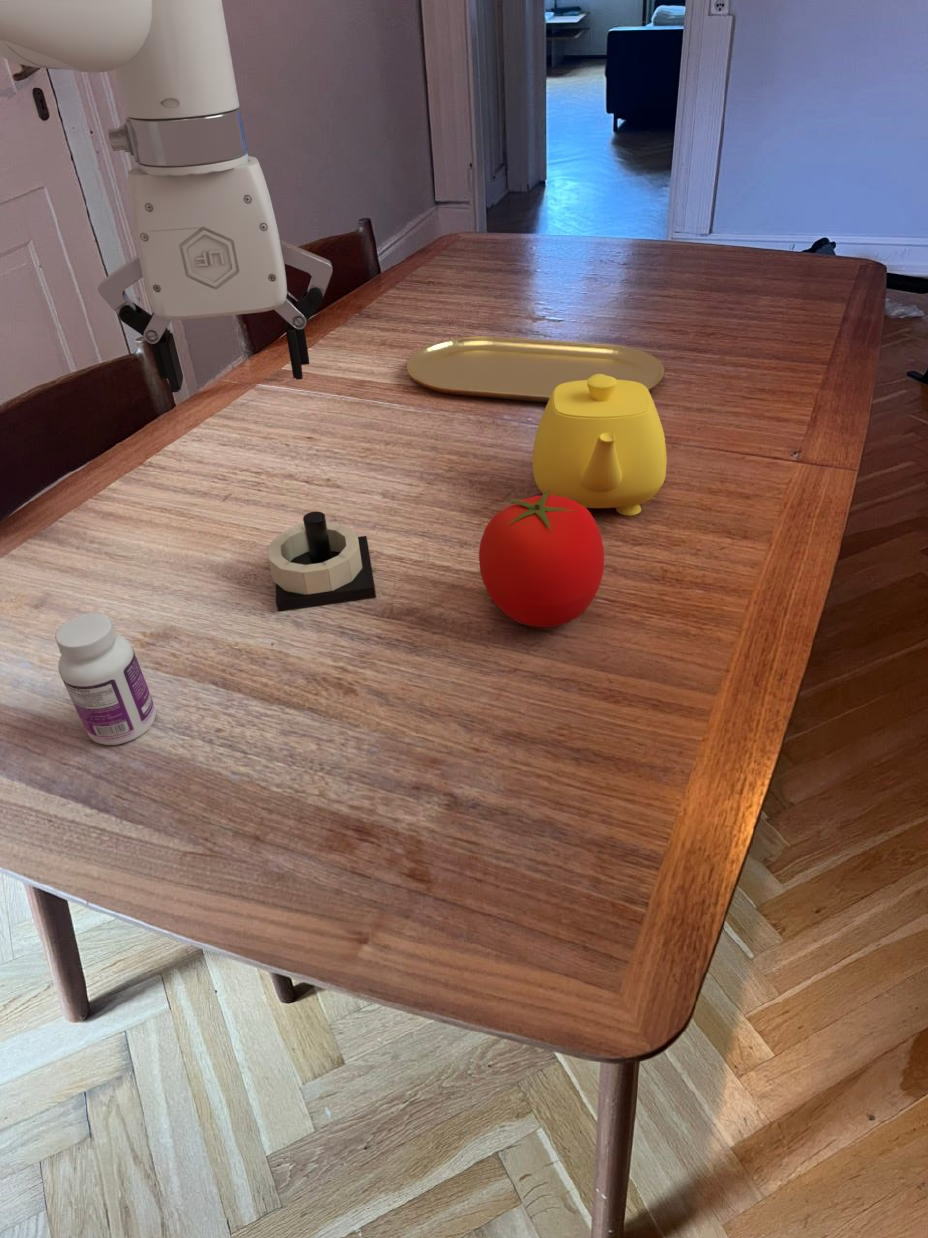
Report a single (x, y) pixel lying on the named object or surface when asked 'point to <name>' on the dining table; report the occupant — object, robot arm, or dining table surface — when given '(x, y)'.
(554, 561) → the tomato
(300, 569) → the tape roll
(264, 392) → the dining table surface
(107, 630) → the pill bottle
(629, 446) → the teapot
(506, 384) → the serving platter
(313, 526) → the peg stand
